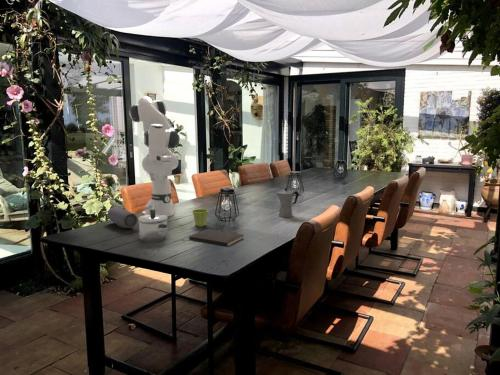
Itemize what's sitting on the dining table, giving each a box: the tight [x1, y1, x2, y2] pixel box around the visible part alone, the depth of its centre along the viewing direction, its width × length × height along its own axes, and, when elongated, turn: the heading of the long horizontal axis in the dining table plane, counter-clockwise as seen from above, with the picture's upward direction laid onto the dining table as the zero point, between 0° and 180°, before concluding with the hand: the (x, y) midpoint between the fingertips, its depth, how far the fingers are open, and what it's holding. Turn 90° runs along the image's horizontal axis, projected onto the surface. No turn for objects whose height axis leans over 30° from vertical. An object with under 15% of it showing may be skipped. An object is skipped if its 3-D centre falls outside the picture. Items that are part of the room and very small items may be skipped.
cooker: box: [138, 219, 169, 243], centre depth 209 cm, size 21×14×10 cm
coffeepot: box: [275, 187, 299, 218], centre depth 258 cm, size 15×9×18 cm, turn 107°
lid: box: [137, 209, 169, 222], centre depth 208 cm, size 15×15×5 cm
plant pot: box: [191, 208, 209, 227], centre depth 234 cm, size 9×9×9 cm
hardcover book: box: [188, 228, 244, 247], centre depth 208 cm, size 16×23×2 cm
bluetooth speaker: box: [106, 206, 139, 229], centre depth 232 cm, size 23×9×10 cm, turn 41°
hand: (157, 182), depth 213 cm, fingers open, 8 cm apart
